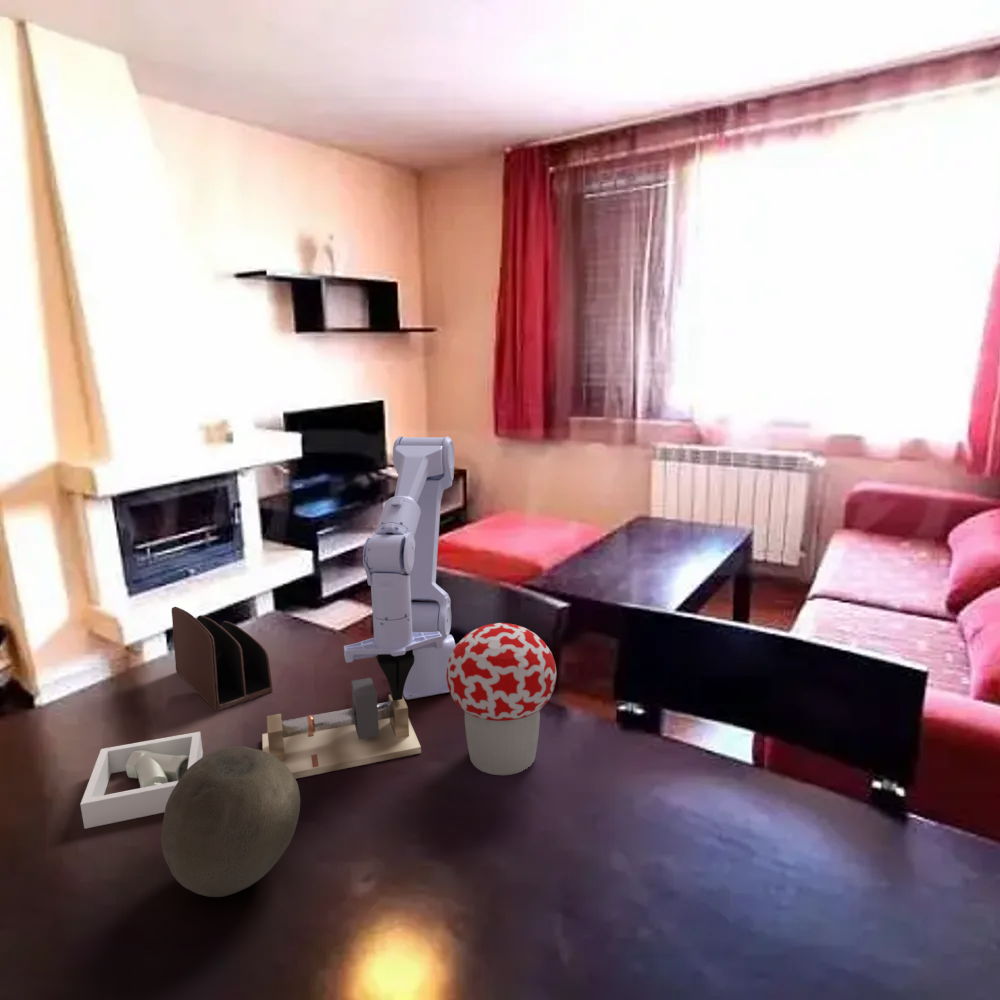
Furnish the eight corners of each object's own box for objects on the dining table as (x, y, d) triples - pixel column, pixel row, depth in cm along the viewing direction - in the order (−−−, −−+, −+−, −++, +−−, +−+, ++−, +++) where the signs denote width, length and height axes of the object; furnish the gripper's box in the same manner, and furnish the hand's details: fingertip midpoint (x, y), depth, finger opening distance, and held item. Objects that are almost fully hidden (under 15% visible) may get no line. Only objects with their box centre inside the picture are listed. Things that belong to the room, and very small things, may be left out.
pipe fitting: (162, 807, 93) (194, 773, 99) (157, 782, 92) (190, 750, 98) (111, 799, 94) (145, 767, 101) (105, 775, 93) (140, 744, 100)
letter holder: (216, 713, 116) (207, 633, 112) (175, 673, 130) (166, 601, 127) (273, 692, 122) (266, 617, 119) (229, 657, 136) (221, 588, 133)
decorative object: (497, 804, 91) (494, 663, 87) (427, 754, 103) (422, 626, 98) (578, 758, 101) (579, 628, 97) (506, 716, 113) (505, 599, 108)
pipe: (403, 710, 109) (402, 695, 108) (406, 718, 106) (406, 703, 106) (268, 735, 102) (267, 719, 102) (268, 744, 100) (267, 728, 99)
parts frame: (202, 752, 104) (200, 731, 103) (196, 805, 92) (193, 781, 91) (104, 770, 100) (101, 749, 99) (84, 828, 88) (80, 804, 87)
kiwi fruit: (225, 949, 70) (210, 817, 67) (143, 893, 77) (125, 772, 74) (329, 861, 81) (320, 746, 78) (249, 820, 89) (237, 713, 86)
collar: (373, 718, 109) (371, 677, 107) (379, 735, 104) (376, 693, 102) (354, 721, 108) (351, 680, 106) (358, 739, 103) (356, 696, 101)
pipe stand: (404, 713, 114) (403, 681, 113) (421, 752, 103) (419, 717, 102) (262, 739, 107) (259, 705, 106) (264, 785, 96) (260, 747, 95)
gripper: (345, 630, 97) (351, 718, 100) (446, 615, 102) (449, 700, 105) (340, 612, 104) (345, 696, 107) (434, 599, 109) (437, 680, 111)
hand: (396, 697), depth 106 cm, fingers closed
